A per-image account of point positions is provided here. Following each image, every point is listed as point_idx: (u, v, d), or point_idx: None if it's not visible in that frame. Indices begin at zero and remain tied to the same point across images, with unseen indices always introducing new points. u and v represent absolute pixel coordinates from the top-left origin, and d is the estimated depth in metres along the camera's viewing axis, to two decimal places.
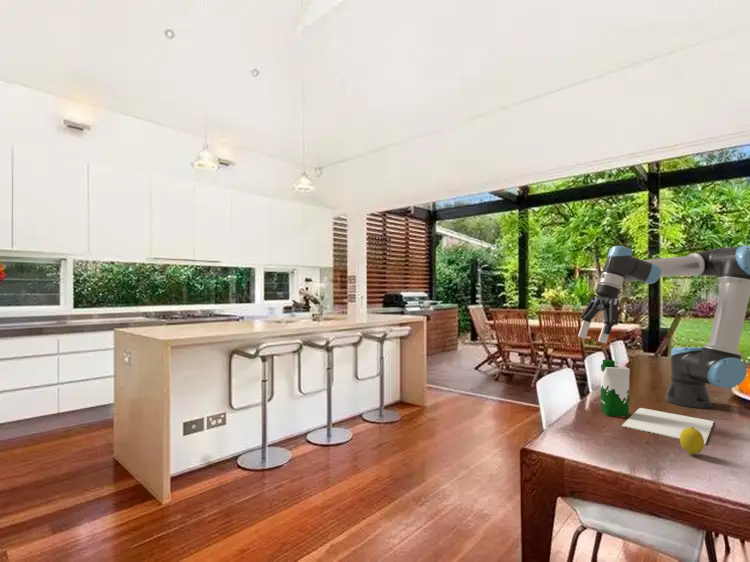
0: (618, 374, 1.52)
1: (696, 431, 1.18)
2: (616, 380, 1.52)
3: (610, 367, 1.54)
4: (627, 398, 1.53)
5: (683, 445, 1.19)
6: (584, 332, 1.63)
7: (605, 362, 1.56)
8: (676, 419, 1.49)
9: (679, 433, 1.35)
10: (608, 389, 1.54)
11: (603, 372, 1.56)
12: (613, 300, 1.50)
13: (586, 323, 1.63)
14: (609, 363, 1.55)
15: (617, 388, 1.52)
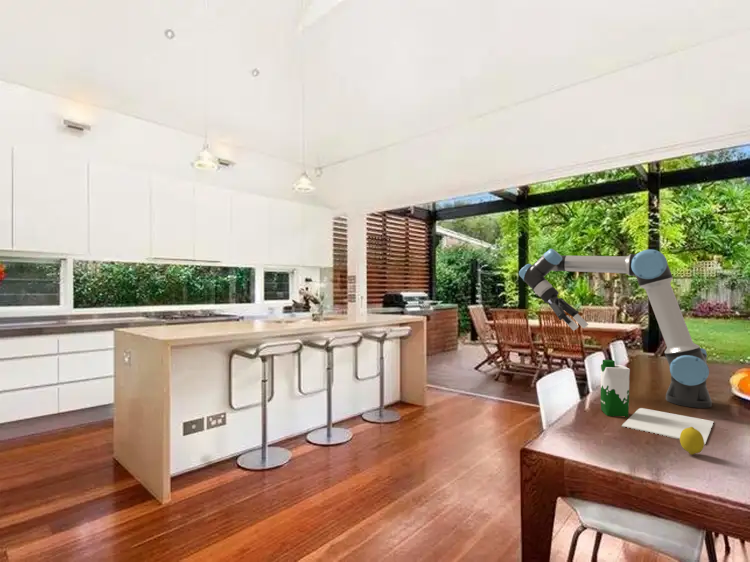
0: (618, 374, 1.52)
1: (696, 431, 1.18)
2: (616, 380, 1.52)
3: (610, 367, 1.54)
4: (627, 398, 1.53)
5: (683, 445, 1.19)
6: (582, 322, 1.87)
7: (605, 362, 1.56)
8: (676, 419, 1.49)
9: (679, 433, 1.35)
10: (608, 389, 1.54)
11: (603, 372, 1.56)
12: (548, 302, 1.84)
13: (575, 317, 1.89)
14: (609, 363, 1.55)
15: (617, 388, 1.52)
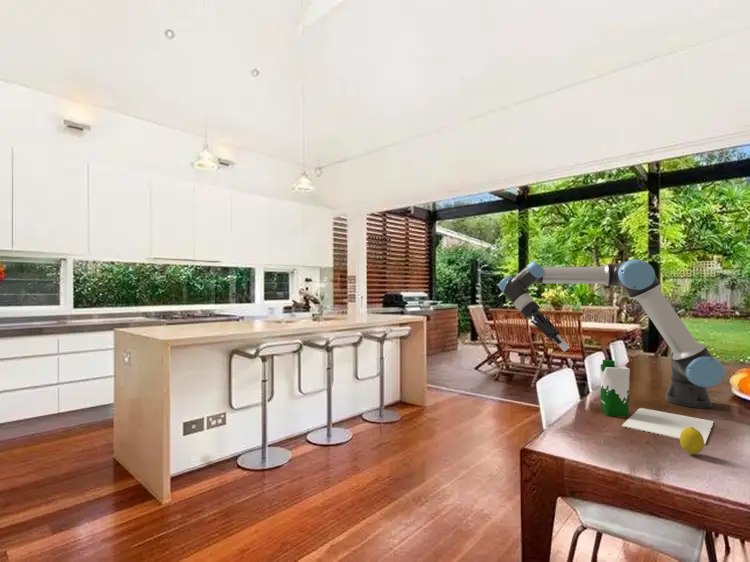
0: (618, 374, 1.52)
1: (696, 431, 1.18)
2: (616, 380, 1.52)
3: (610, 367, 1.54)
4: (627, 398, 1.53)
5: (683, 445, 1.19)
6: None
7: (605, 362, 1.56)
8: (676, 419, 1.49)
9: (679, 433, 1.35)
10: (608, 389, 1.54)
11: (603, 372, 1.56)
12: (532, 322, 1.72)
13: None
14: (609, 363, 1.55)
15: (617, 388, 1.52)
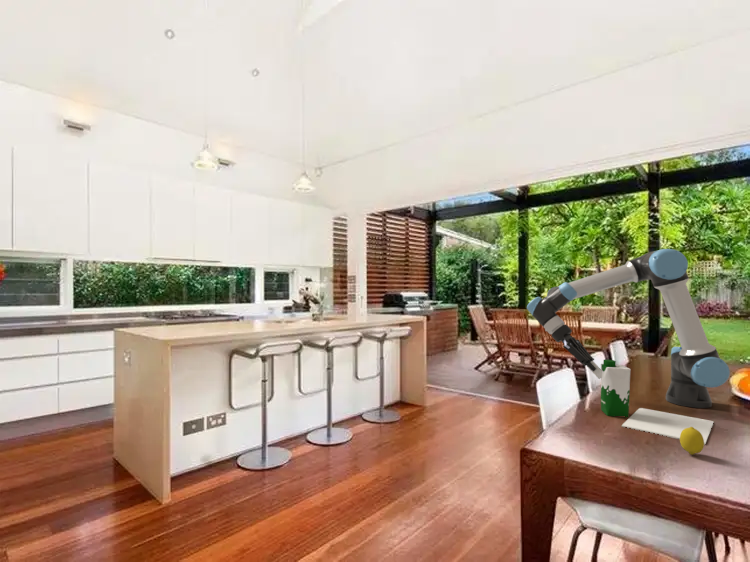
0: (619, 374, 1.52)
1: (696, 431, 1.18)
2: (617, 380, 1.52)
3: (611, 367, 1.54)
4: (627, 398, 1.53)
5: (683, 445, 1.19)
6: None
7: (606, 362, 1.56)
8: (676, 419, 1.49)
9: (679, 433, 1.35)
10: (608, 389, 1.54)
11: (604, 372, 1.56)
12: (565, 347, 1.63)
13: None
14: (610, 363, 1.55)
15: (618, 388, 1.52)
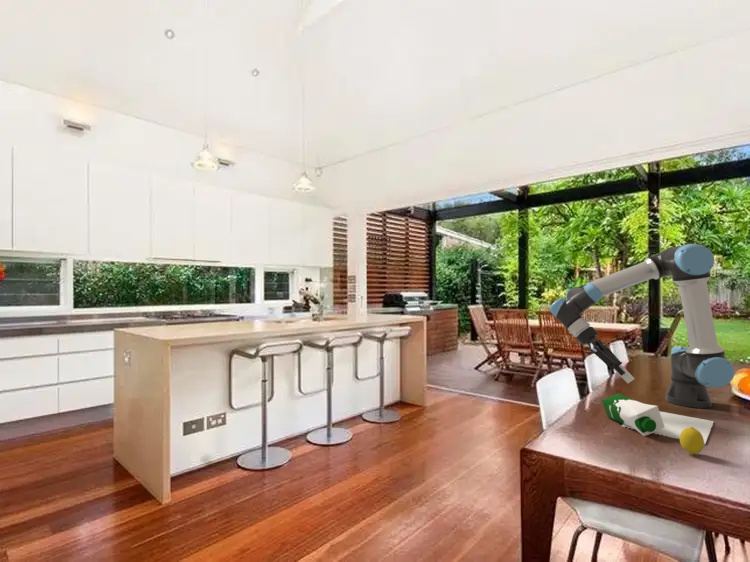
0: None
1: (696, 431, 1.18)
2: None
3: (648, 431, 1.34)
4: None
5: (683, 445, 1.19)
6: None
7: (646, 430, 1.32)
8: (676, 419, 1.49)
9: (679, 433, 1.35)
10: (628, 425, 1.42)
11: (635, 426, 1.36)
12: (592, 351, 1.56)
13: None
14: None
15: None
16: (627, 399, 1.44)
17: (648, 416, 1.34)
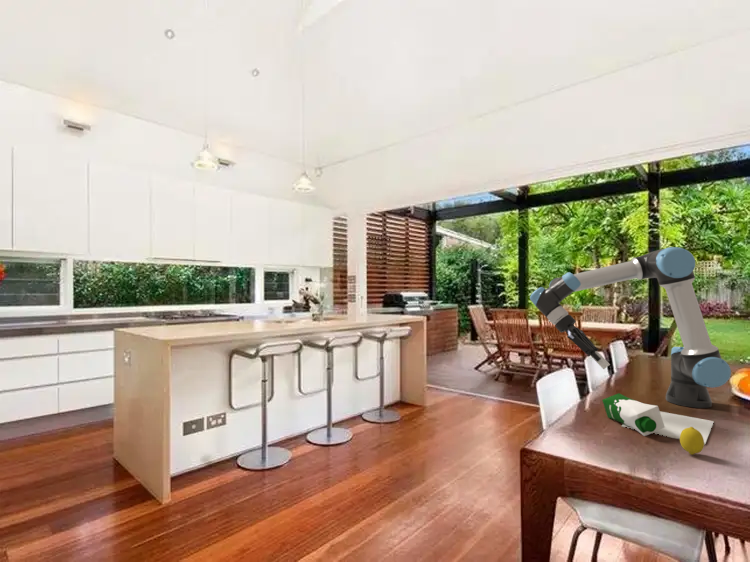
0: None
1: (696, 431, 1.18)
2: None
3: (648, 431, 1.34)
4: None
5: (683, 445, 1.19)
6: None
7: (646, 430, 1.32)
8: (676, 419, 1.49)
9: (679, 433, 1.35)
10: (628, 425, 1.42)
11: (635, 426, 1.36)
12: (569, 337, 1.61)
13: None
14: None
15: None
16: (627, 399, 1.44)
17: (648, 416, 1.34)
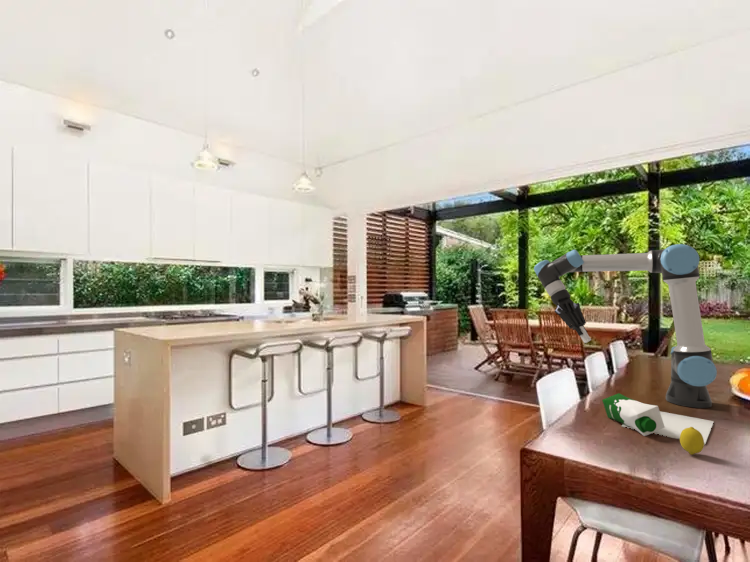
0: None
1: (696, 431, 1.18)
2: None
3: (648, 431, 1.34)
4: None
5: (683, 445, 1.19)
6: None
7: (646, 430, 1.32)
8: (676, 419, 1.49)
9: (679, 433, 1.35)
10: (628, 425, 1.42)
11: (635, 426, 1.36)
12: (556, 312, 1.77)
13: None
14: None
15: None
16: (627, 399, 1.44)
17: (648, 416, 1.34)
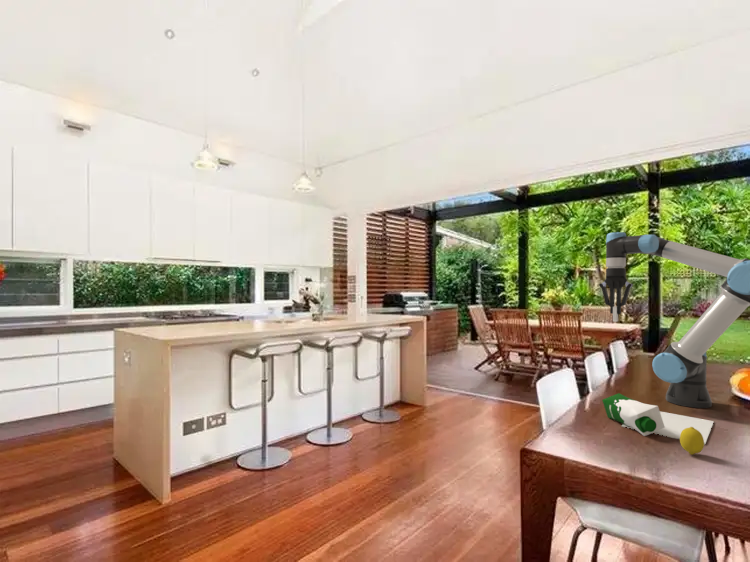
0: None
1: (696, 431, 1.18)
2: None
3: (648, 431, 1.34)
4: None
5: (683, 445, 1.19)
6: None
7: (646, 430, 1.32)
8: (676, 419, 1.49)
9: (679, 433, 1.35)
10: (628, 425, 1.42)
11: (635, 426, 1.36)
12: None
13: None
14: None
15: None
16: (627, 399, 1.44)
17: (648, 416, 1.34)
